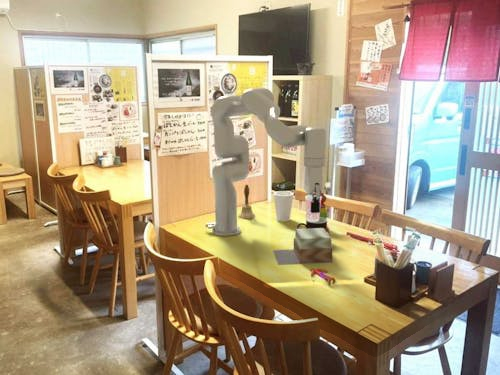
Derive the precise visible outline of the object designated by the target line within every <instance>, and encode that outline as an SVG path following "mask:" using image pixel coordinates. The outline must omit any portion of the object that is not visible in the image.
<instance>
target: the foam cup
mask: <svg viewBox="0 0 500 375" xmlns="http://www.w3.org/2000/svg"><path fill="white" fill-rule="evenodd" d="M273 199H274V210H275V216H276V218H275V219H276V221H278V222H284V223H285V222H289V221H290V219H291V214H292V207H293V201H294V192H291V191H288V190H287V191H286V190H278V191H275V192H273Z"/></svg>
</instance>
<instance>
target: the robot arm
mask: <svg viewBox="0 0 500 375" xmlns="http://www.w3.org/2000/svg"><path fill="white" fill-rule="evenodd" d="M210 113H211V118H212V123H213V143H214V154H215V156H216V157H217V158H218V159H221V160H223V159H230V160H226V161H221V162H218V163H216V164H215V165H214V166H213V168H212V169H211V177H212V181H213V185H214V211H215V213H214V214H215V220H214V221H213V222H211V223H210V222H205V228H208V229H212V233H213V234H214V235H216V236H218V237H219V236H221V237H231V236H236V235H238V234H240V233H241V232H242V231H241V227H240V226H238V195H237V194H238V193H237V190H236V187H235V185H234V183H235V182H239V181H244V180H246V178H247V177H248V176H249V173H250V147H249V146H250V145H249V142H248V141H247V139H246V138H245V136H244V135H241V134H235V126H234V123H233V121H232V119H231V118H230V117H239V116H248V115H253V116H254V117H256V118H257V119H258V120H260V121H261V122H262V123H263V124H264V129H265V131H266V134H267V135H268V136H269V137H270V138H271V139H272V140H273V141H274V142H275V143H277V144H278V145H279V146H281V147H284V148H294V147H300V146H304V149H303V151H304V152H303V154H304V155H303V166H304V168H305V169H304V178H303V179H304V180H303V181H304V182H303V190H304V191H305V193H307V194H306V195H312V202H311V213H319V212H320V194H321V193H323V181H324V180H323V171H324V170H323V168H324V167H326V143H327V130H326V129H325V127H320V126H310V125H307V124H299V125H297V124H296V125H289V126H288V125H286V124H285V123H283V122H282V121H281V120H280V119H279V117H280V114H281V107H280V106H279V105H278V104H276V103H275V95H274V93H273V91H271V90H270V89H268V88H266V87H265V88H264V87H260V88H259V87H258V88H257V87H256V88H248V89H246V90H244V91H243V92H242V94H231V95H223V96H219V97H218V98H217V99H215V100H214V101H213V103H212V105H211V112H210ZM231 159H232V160H231ZM313 192H314V194H313ZM315 192H316V193H315ZM315 195H316V196H315ZM314 196H315V197H314Z"/></svg>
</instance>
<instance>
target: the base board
mask: <svg viewBox="0 0 500 375" xmlns="http://www.w3.org/2000/svg"><path fill="white" fill-rule="evenodd" d="M272 252H273V255H274V258H275V260H276V263H277V265H278V266H279V265H280V266H282V265H307V264H309V265H310V264H330V263H331V264H332V263H334V262H333V260H332V261H329V262H304V263H300V262H299V260H298V258H297V256H296V254H295V252H294V248H293V249H276V250H275V249H273V250H272Z"/></svg>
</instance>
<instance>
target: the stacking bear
mask: <svg viewBox="0 0 500 375" xmlns="http://www.w3.org/2000/svg"><path fill="white" fill-rule="evenodd" d="M315 193H316V192H315ZM320 196H321V197H322V199H321V205H320V215H319V217H322V218H325V219H327V218H328V212H327V211H328V210H327V207H326V204H325V203H326V200H327V199H328V198H327V195H325V194H324V193H323V192H322V193H321V194H320ZM327 220H328V219H327ZM305 229H307V228H306V227H305ZM326 232H327V233H329V232H330V229H329V227H328V224H327V225H326Z"/></svg>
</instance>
